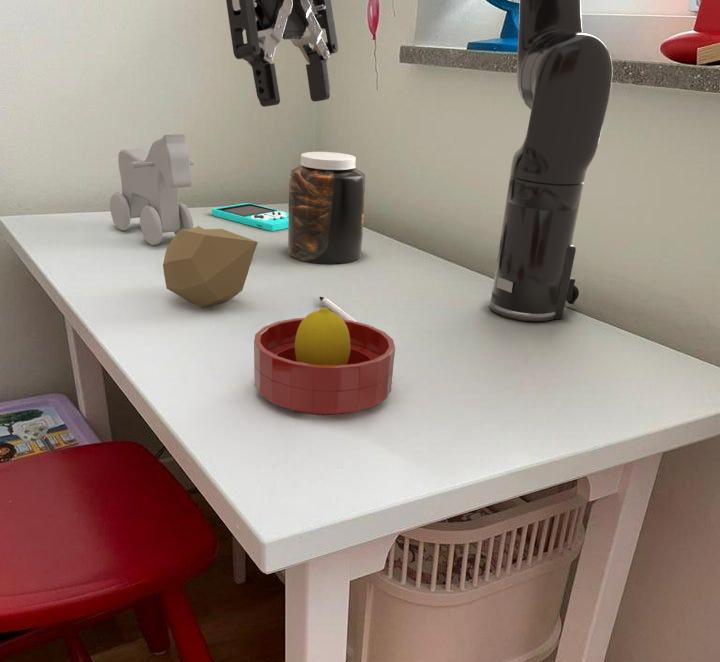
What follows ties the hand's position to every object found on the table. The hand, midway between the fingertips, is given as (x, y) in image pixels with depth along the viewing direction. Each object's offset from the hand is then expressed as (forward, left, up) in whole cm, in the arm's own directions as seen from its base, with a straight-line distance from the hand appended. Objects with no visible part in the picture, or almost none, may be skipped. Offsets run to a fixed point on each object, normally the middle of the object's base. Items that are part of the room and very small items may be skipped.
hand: (296, 103), depth 82 cm
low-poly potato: (+12, -10, -25) cm, 29 cm away
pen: (-7, -2, -25) cm, 26 cm away
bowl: (-3, +19, -25) cm, 31 cm away
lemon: (-3, +19, -24) cm, 31 cm away
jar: (-4, -35, -25) cm, 43 cm away
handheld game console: (+8, -58, -25) cm, 64 cm away
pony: (+24, -41, -25) cm, 54 cm away
